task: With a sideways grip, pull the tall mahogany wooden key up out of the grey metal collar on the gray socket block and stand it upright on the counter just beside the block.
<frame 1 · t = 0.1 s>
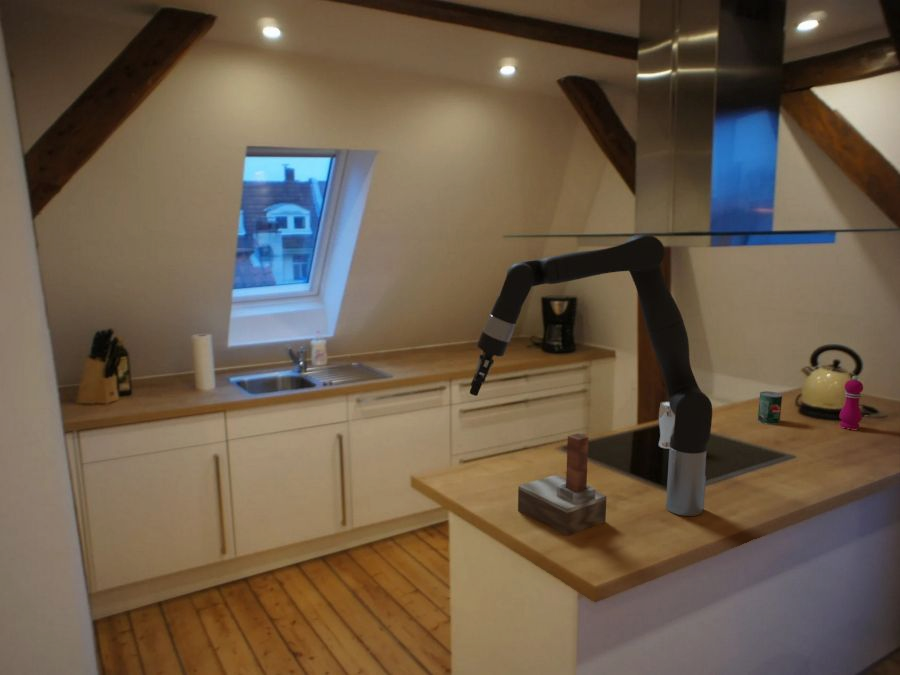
hand: (473, 390, 180), 31 cm above the worktop, tool tilted 20°, fingers open, 8 cm apart
pepper mill: (849, 428, 253), on the worktop
gray socket block: (560, 516, 176), on the worktop
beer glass: (667, 446, 232), on the worktop
wooden key: (575, 497, 171), point 7 cm above the worktop, touching gray socket block
canned tomato: (768, 422, 261), on the worktop
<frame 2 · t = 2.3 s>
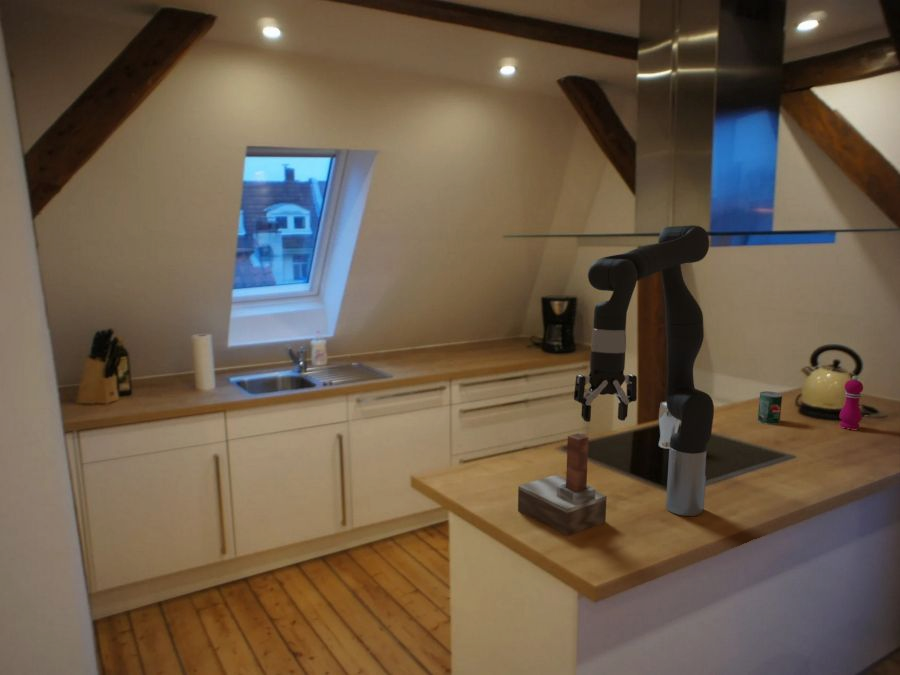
hand: (604, 420, 152), 32 cm above the worktop, tool pointing down, fingers open, 8 cm apart
nothing on the worktop moved.
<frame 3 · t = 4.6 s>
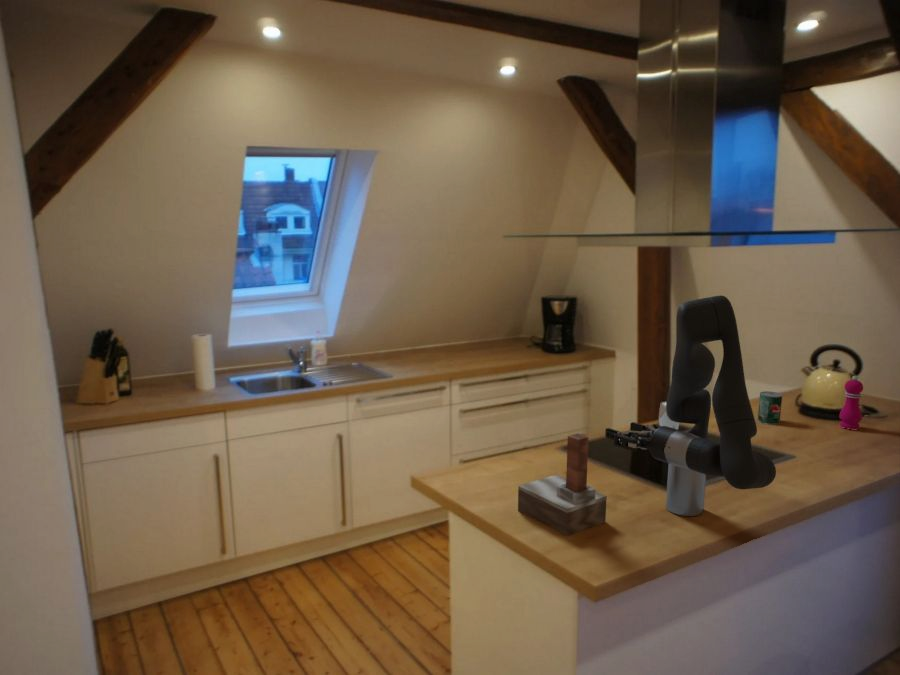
hand: (618, 429, 157), 28 cm above the worktop, tool horizontal, fingers open, 8 cm apart
nothing on the worktop moved.
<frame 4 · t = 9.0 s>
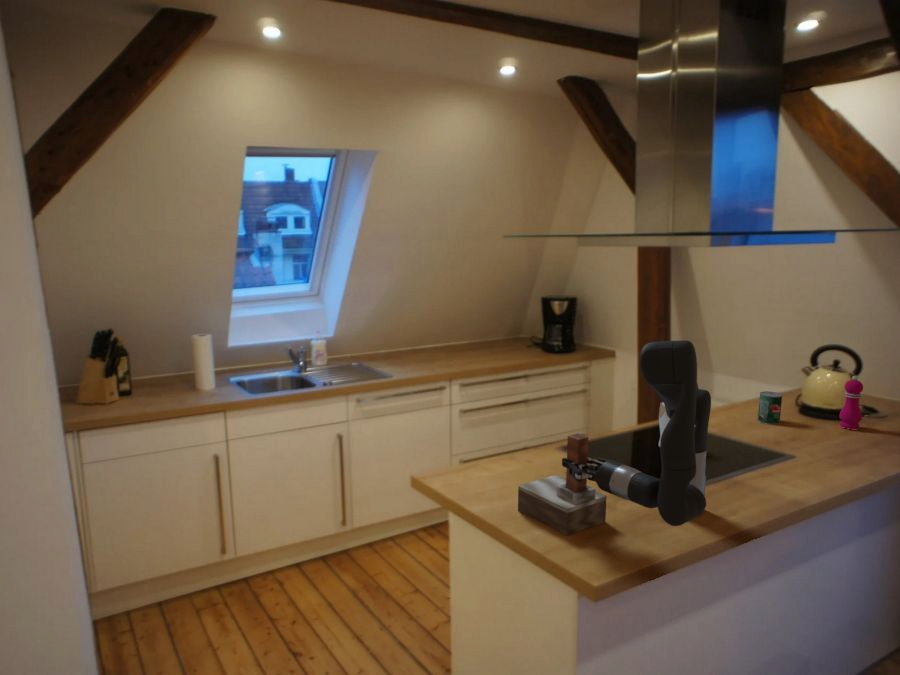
hand: (568, 460, 172), 16 cm above the worktop, tool horizontal, fingers closed on wooden key, 3 cm apart
wooden key: (575, 497, 171), point 7 cm above the worktop, touching gripper
everything else where it was.
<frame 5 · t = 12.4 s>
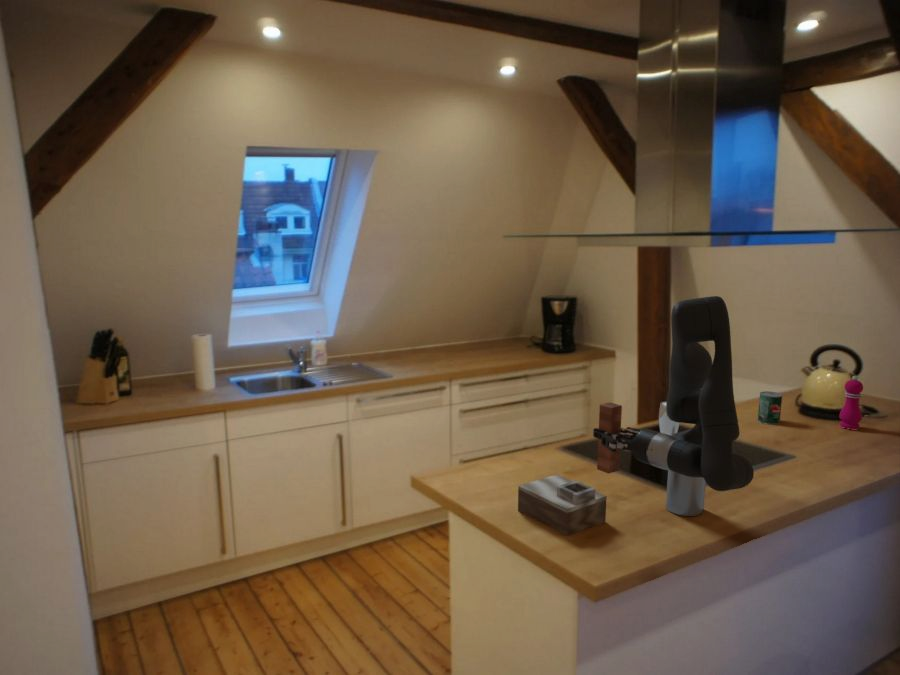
hand: (600, 430, 162), 26 cm above the worktop, tool horizontal, fingers closed on wooden key, 3 cm apart
wooden key: (607, 469, 161), point 17 cm above the worktop, touching gripper
everything else where it was.
when the fingers open (10 cm above the worktop, at t = 15.9 s): wooden key drops 1 cm, on the worktop.
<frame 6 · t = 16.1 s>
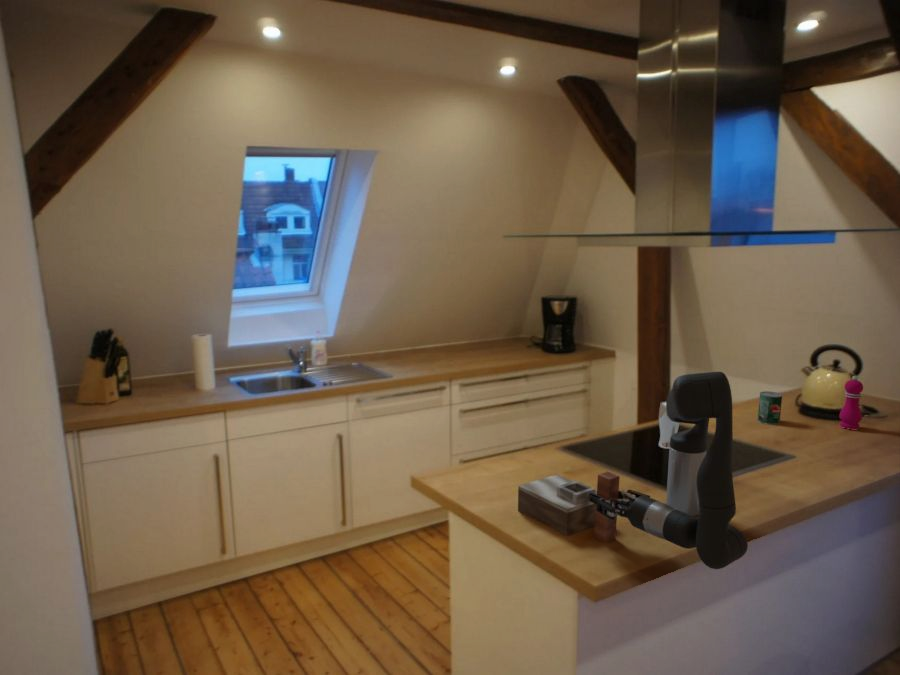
hand: (598, 493, 165), 10 cm above the worktop, tool horizontal, fingers open, 5 cm apart
wooden key: (604, 537, 164), on the worktop
everything else where it was.
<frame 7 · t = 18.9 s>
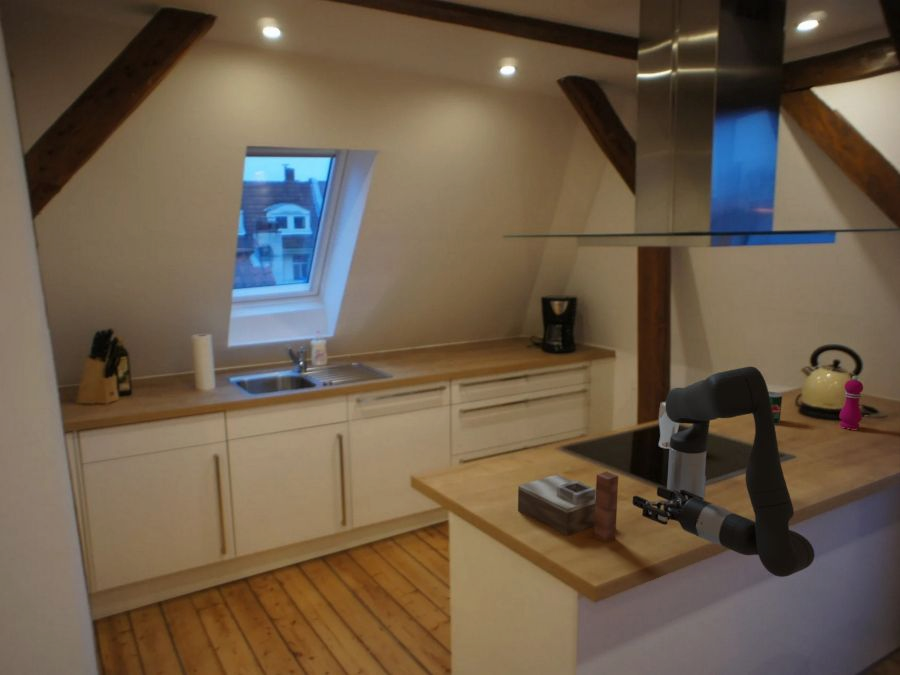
hand: (645, 495, 154), 15 cm above the worktop, tool horizontal, fingers open, 8 cm apart
nothing on the worktop moved.
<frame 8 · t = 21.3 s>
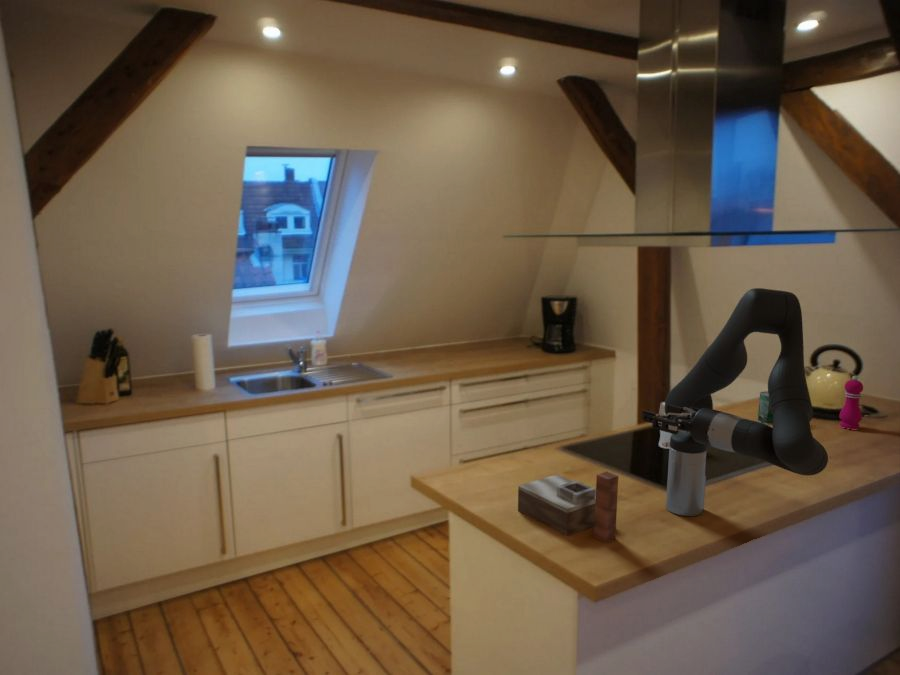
hand: (655, 412, 151), 34 cm above the worktop, tool horizontal, fingers open, 8 cm apart
nothing on the worktop moved.
at the end: wooden key inside the target area (0.5 cm from its centre), on the worktop; wooden key tilted 0°; the gripper is holding nothing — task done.
